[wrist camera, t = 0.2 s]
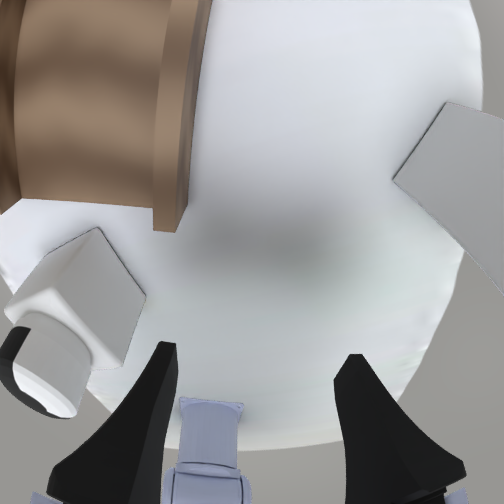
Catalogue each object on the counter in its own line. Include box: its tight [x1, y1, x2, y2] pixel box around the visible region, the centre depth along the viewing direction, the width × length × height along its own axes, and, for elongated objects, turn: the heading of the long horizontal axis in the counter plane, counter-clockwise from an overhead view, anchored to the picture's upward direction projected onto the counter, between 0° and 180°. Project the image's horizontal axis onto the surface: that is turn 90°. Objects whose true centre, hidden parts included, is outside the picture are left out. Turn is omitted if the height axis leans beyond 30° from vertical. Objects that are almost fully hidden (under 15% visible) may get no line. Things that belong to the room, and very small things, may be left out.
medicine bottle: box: [0, 228, 146, 419], centre depth 16 cm, size 7×7×12 cm
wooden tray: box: [0, 0, 212, 233], centre depth 11 cm, size 18×14×4 cm
